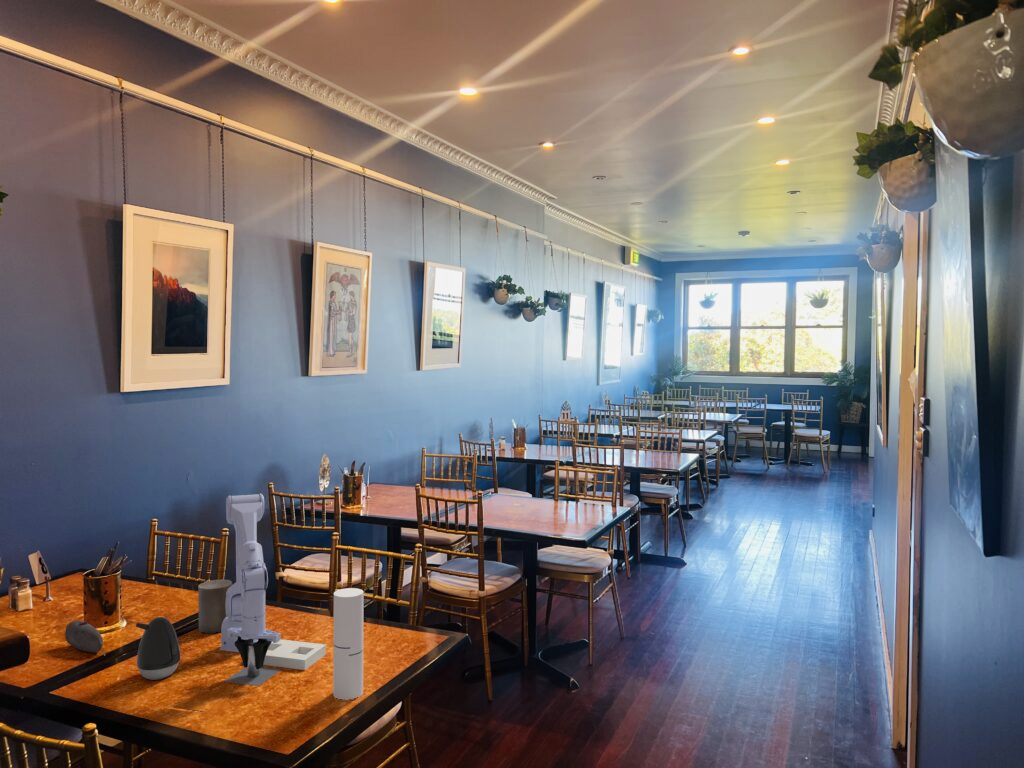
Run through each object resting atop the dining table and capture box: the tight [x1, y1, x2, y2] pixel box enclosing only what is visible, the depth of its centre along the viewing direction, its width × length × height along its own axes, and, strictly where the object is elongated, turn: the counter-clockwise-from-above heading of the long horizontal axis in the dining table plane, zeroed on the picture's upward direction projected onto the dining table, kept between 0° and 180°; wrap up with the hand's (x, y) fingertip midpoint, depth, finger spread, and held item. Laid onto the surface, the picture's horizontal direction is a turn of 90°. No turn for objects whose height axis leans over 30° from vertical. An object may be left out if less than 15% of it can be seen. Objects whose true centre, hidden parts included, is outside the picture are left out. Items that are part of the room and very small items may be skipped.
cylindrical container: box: [332, 587, 365, 701], centre depth 174 cm, size 7×7×25 cm
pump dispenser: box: [135, 616, 182, 681], centre depth 184 cm, size 10×10×15 cm
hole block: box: [263, 638, 327, 671], centre depth 195 cm, size 18×11×3 cm, turn 75°
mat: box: [224, 666, 282, 687], centre depth 184 cm, size 10×10×1 cm
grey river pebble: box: [64, 620, 104, 653], centre depth 200 cm, size 15×5×7 cm, turn 57°
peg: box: [247, 642, 260, 678], centre depth 184 cm, size 3×3×8 cm
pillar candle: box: [197, 579, 233, 634], centre depth 218 cm, size 10×10×15 cm
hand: (253, 666), depth 184 cm, fingers closed on peg, 3 cm apart
